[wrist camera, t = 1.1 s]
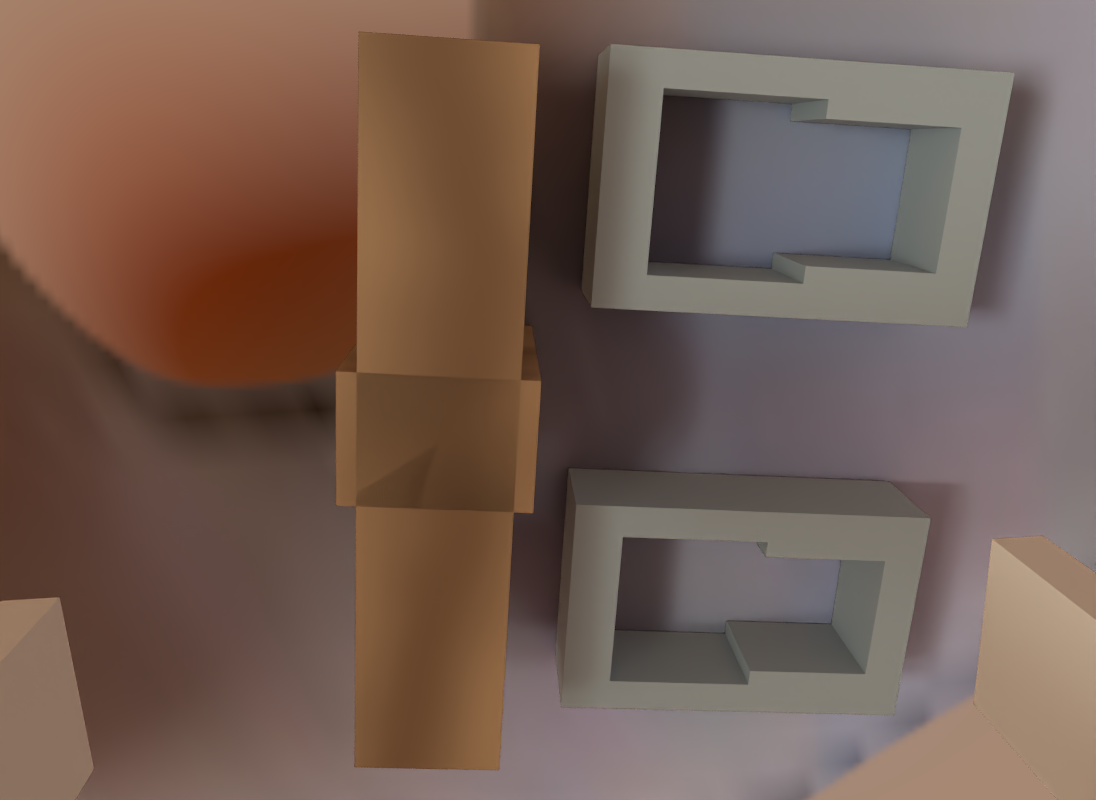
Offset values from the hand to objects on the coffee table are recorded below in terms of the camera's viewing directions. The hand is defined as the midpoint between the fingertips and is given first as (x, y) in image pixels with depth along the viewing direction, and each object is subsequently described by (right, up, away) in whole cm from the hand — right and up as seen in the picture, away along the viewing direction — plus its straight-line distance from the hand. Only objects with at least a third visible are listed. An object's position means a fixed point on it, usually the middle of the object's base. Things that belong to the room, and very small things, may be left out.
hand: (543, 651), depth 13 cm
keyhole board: (+6, +4, +17) cm, 19 cm away
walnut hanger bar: (-3, +4, +17) cm, 17 cm away
